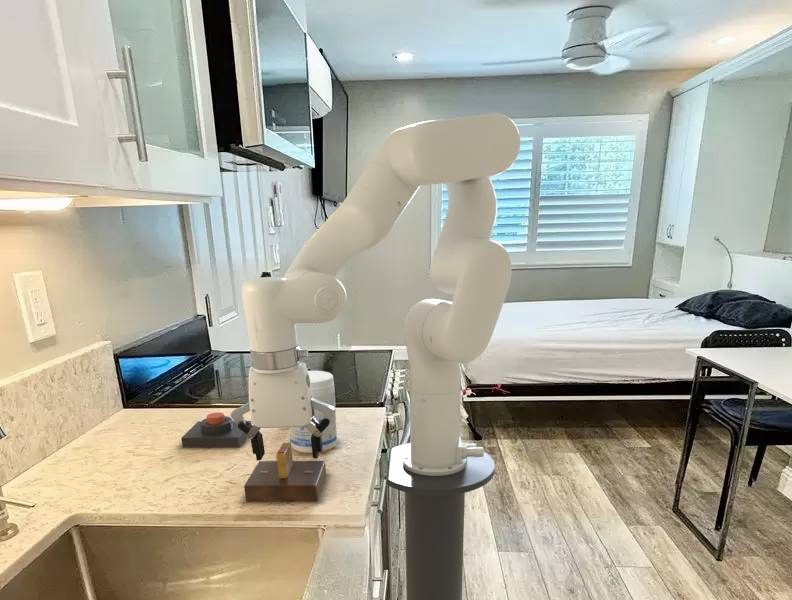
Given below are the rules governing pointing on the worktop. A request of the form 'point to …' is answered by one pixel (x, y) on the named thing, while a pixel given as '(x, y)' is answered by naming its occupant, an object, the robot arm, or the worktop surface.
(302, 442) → the supplement tub
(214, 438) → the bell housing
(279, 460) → the thumb turn
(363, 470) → the worktop surface
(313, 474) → the plate
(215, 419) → the bell button
